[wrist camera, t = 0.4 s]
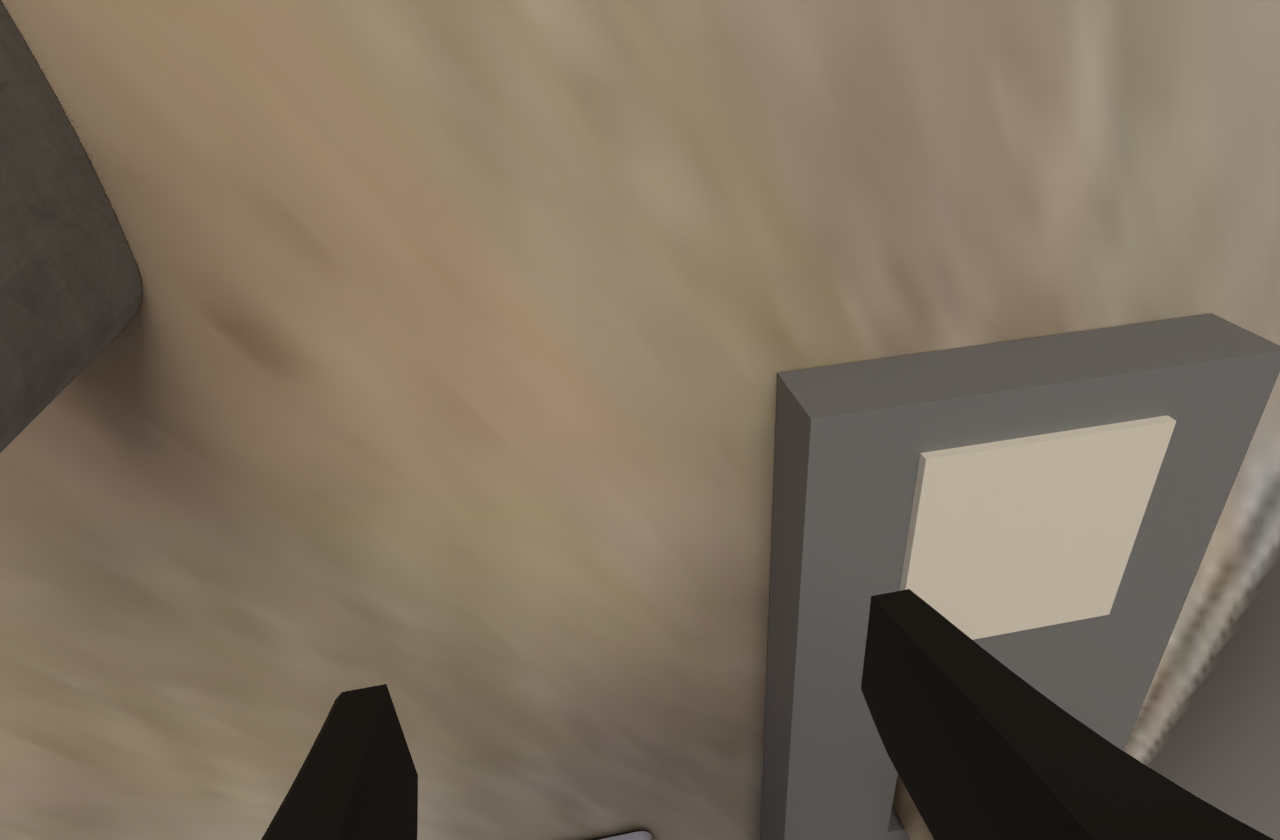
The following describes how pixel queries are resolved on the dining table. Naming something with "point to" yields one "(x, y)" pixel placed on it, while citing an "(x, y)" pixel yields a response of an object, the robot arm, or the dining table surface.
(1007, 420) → the pocket plate
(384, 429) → the dining table surface
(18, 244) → the hip flask
